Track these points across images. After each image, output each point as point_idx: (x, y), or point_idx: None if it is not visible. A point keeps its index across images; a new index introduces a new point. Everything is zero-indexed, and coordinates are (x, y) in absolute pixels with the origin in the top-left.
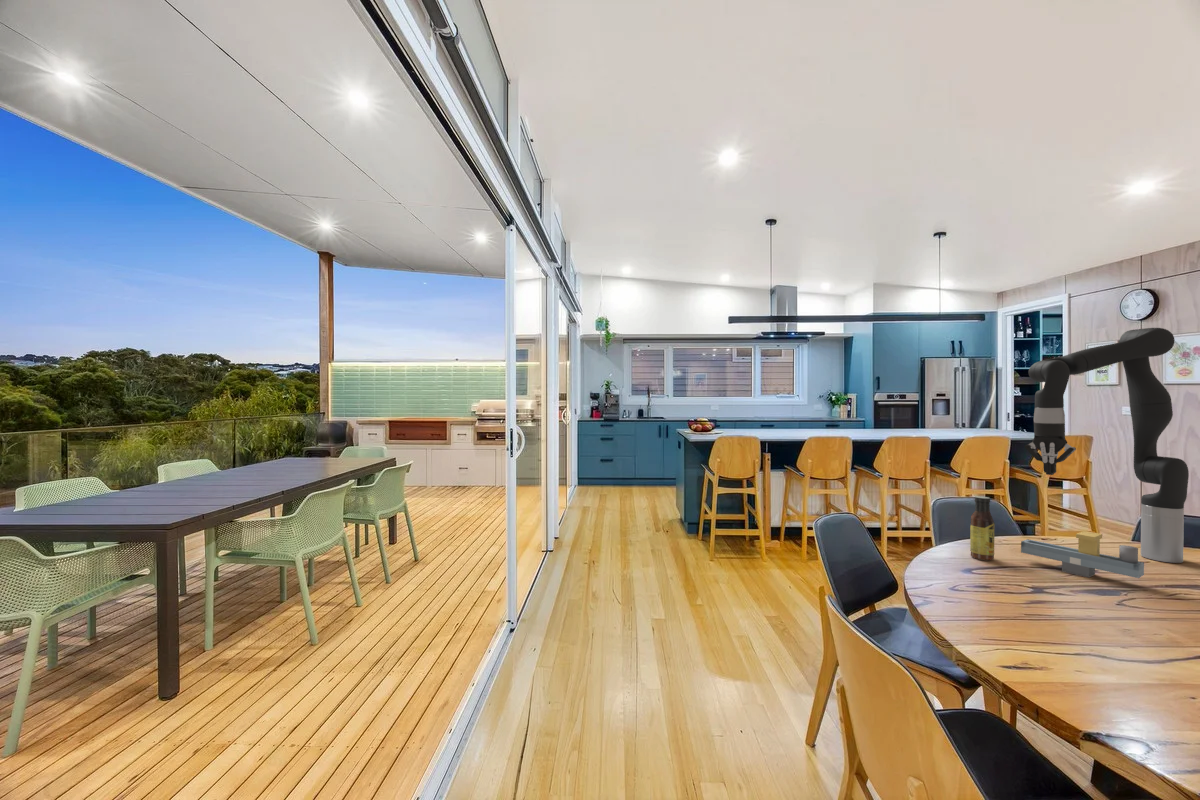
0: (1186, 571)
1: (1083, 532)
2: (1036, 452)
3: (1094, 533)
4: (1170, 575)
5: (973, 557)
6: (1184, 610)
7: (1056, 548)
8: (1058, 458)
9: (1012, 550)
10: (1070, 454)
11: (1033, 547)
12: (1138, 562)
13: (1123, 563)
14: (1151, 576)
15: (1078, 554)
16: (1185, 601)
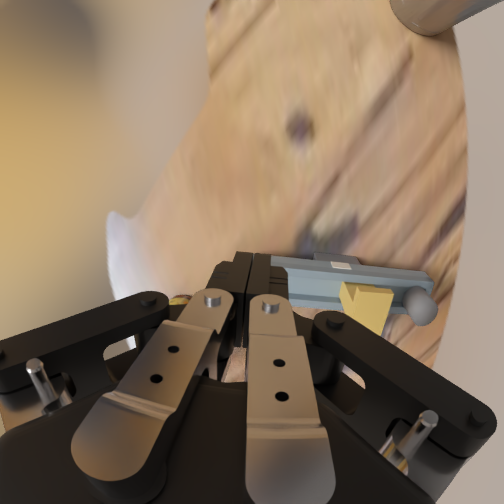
0: (459, 86)
1: (359, 313)
2: (104, 371)
3: (379, 302)
4: (448, 142)
5: None
6: (436, 342)
7: (302, 304)
8: (316, 395)
9: (196, 188)
10: (426, 376)
11: None
12: (426, 291)
13: (405, 312)
14: (428, 179)
15: (341, 309)
16: (447, 301)
